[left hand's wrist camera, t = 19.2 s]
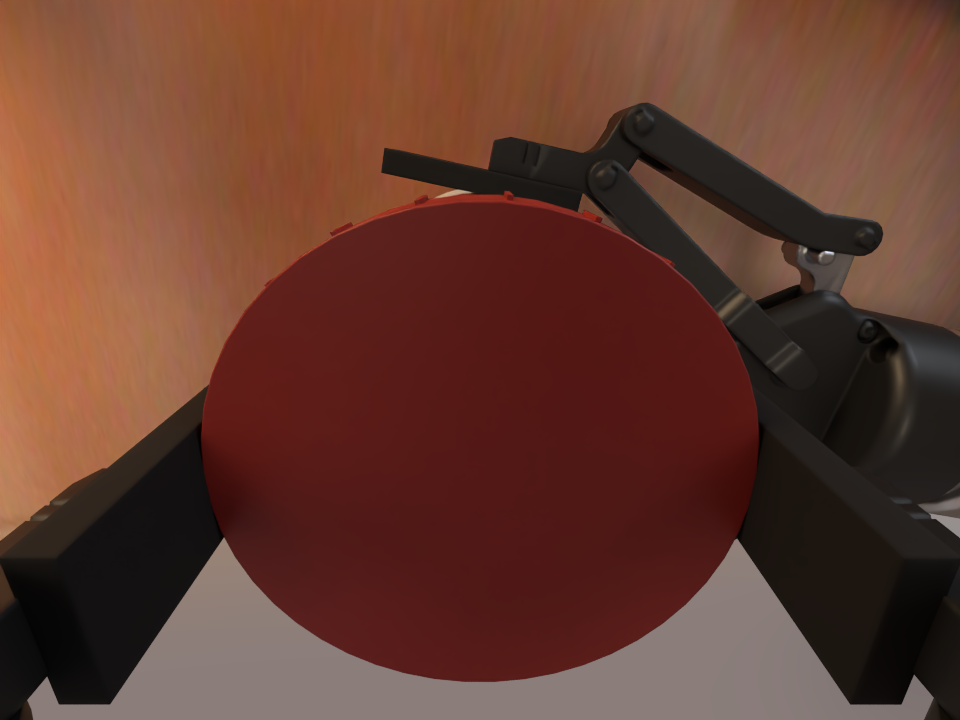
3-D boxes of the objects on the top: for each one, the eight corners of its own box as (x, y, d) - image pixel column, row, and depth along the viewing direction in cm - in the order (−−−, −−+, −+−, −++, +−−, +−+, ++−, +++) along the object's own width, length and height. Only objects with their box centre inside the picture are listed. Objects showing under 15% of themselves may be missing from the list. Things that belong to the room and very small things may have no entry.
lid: (322, 649, 14) (302, 712, 13) (156, 250, 10) (96, 266, 9) (727, 590, 14) (762, 649, 12) (713, 135, 10) (762, 129, 8)
